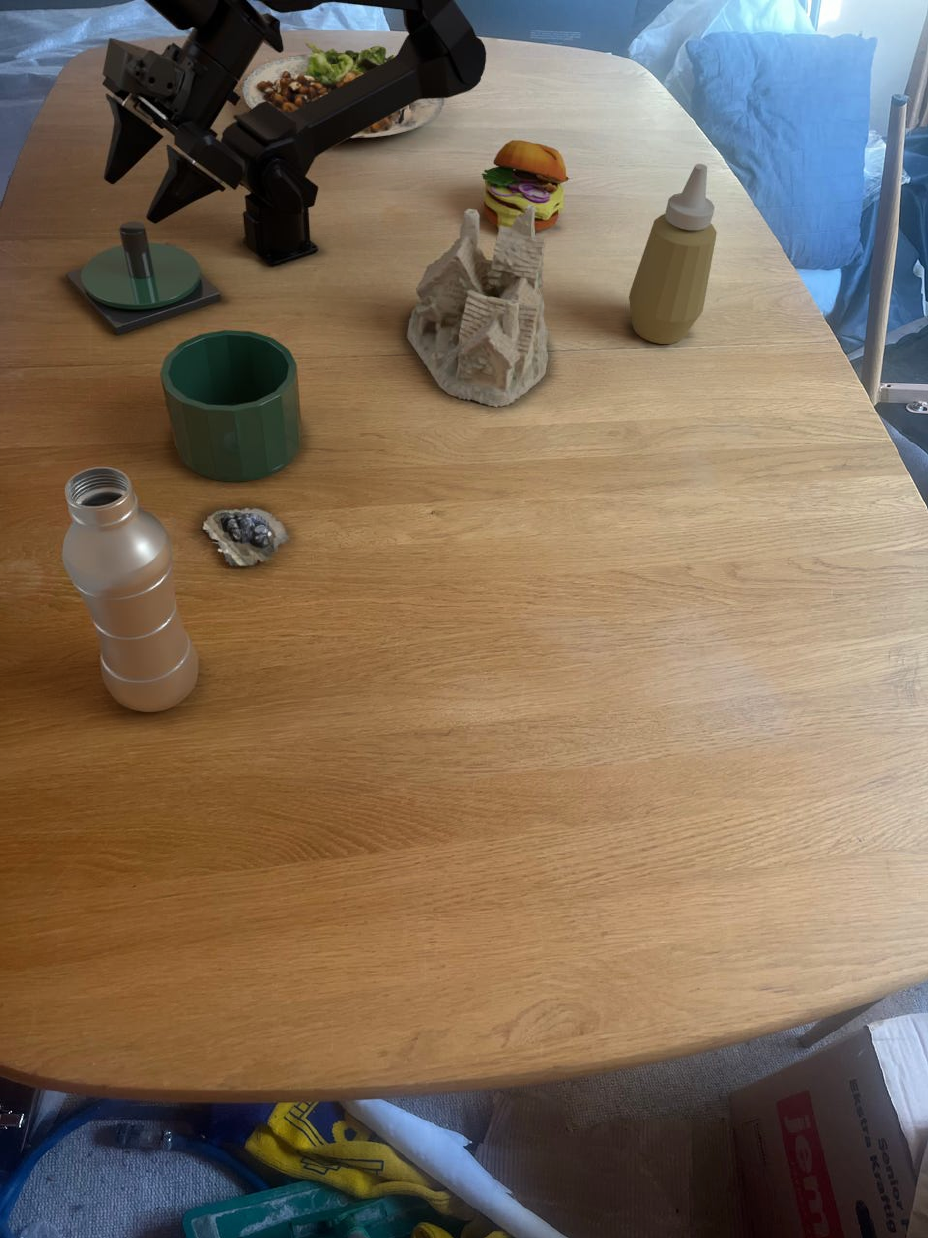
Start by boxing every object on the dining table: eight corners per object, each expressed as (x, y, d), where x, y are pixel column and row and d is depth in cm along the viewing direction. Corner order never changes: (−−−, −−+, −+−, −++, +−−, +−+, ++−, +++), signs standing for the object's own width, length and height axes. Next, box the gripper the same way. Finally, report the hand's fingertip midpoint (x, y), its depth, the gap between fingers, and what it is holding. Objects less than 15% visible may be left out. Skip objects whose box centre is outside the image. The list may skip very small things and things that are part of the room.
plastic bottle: (116, 653, 73) (47, 450, 57) (207, 651, 73) (163, 450, 58) (103, 725, 69) (24, 527, 53) (200, 722, 69) (150, 525, 54)
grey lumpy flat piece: (253, 581, 78) (250, 566, 77) (179, 540, 81) (175, 524, 79) (304, 534, 82) (303, 518, 81) (232, 495, 84) (229, 479, 83)
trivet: (168, 250, 109) (167, 242, 108) (221, 300, 103) (220, 292, 103) (67, 280, 104) (64, 272, 103) (117, 335, 98) (115, 327, 97)
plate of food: (360, 54, 148) (360, 9, 143) (483, 121, 136) (487, 75, 131) (204, 96, 135) (198, 48, 130) (325, 174, 123) (323, 125, 118)
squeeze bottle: (703, 322, 107) (752, 160, 93) (683, 360, 102) (731, 195, 88) (635, 301, 109) (673, 139, 95) (612, 337, 104) (648, 172, 90)
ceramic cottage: (436, 291, 107) (444, 161, 95) (571, 342, 104) (597, 214, 91) (366, 371, 98) (365, 239, 86) (510, 429, 95) (531, 301, 83)
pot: (188, 398, 93) (174, 326, 86) (307, 405, 93) (302, 333, 87) (165, 479, 85) (148, 406, 79) (294, 485, 86) (288, 413, 80)
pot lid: (168, 241, 108) (158, 187, 104) (222, 292, 103) (215, 237, 98) (64, 272, 103) (49, 216, 98) (115, 327, 97) (102, 271, 93)
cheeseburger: (464, 226, 117) (477, 137, 111) (493, 210, 125) (506, 126, 119) (543, 246, 115) (560, 156, 109) (567, 228, 123) (584, 143, 117)
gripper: (100, -30, 90) (18, 117, 94) (198, 39, 81) (104, 199, 85) (189, 47, 99) (111, 178, 103) (285, 116, 91) (197, 257, 94)
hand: (128, 200), depth 96 cm, fingers open, 9 cm apart
